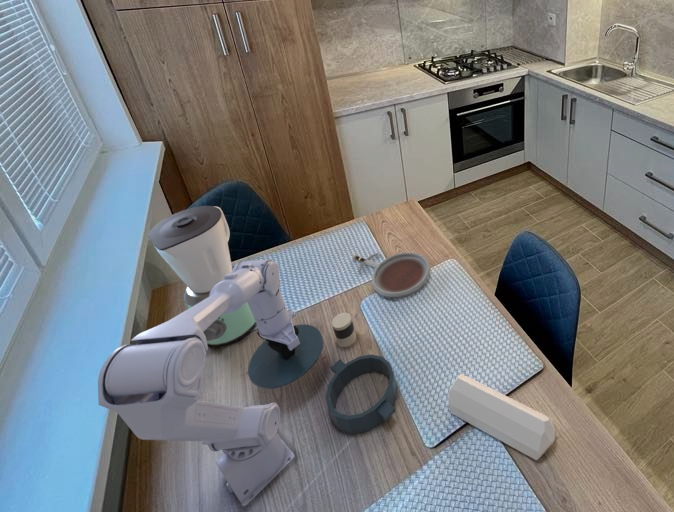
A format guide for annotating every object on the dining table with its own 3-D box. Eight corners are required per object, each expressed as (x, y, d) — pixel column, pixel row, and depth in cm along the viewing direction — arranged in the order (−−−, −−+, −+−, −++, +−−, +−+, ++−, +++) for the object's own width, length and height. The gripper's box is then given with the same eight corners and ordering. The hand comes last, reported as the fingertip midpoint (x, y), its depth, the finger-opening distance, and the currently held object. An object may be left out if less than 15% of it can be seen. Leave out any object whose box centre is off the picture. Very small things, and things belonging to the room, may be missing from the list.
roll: (345, 352, 99) (338, 331, 96) (334, 342, 101) (327, 322, 98) (360, 338, 102) (354, 317, 99) (349, 329, 105) (344, 309, 101)
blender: (246, 353, 99) (195, 242, 84) (187, 360, 98) (124, 249, 83) (276, 292, 116) (238, 191, 101) (226, 298, 115) (180, 196, 100)
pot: (366, 459, 78) (360, 443, 76) (312, 401, 88) (305, 385, 86) (418, 399, 88) (415, 383, 86) (364, 353, 98) (360, 338, 96)
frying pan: (372, 236, 134) (441, 260, 122) (373, 243, 135) (442, 267, 123) (330, 271, 120) (404, 302, 108) (333, 278, 121) (406, 309, 110)
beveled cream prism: (564, 409, 82) (464, 361, 92) (554, 429, 76) (447, 375, 85) (557, 445, 82) (458, 393, 92) (546, 469, 75) (440, 410, 85)
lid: (271, 405, 80) (264, 390, 78) (236, 365, 88) (230, 351, 86) (337, 348, 91) (333, 334, 89) (301, 317, 99) (297, 303, 97)
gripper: (306, 311, 82) (321, 355, 88) (270, 281, 90) (286, 323, 95) (271, 337, 77) (290, 382, 83) (236, 302, 84) (256, 346, 90)
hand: (286, 352), depth 89 cm, fingers closed on lid, 2 cm apart
